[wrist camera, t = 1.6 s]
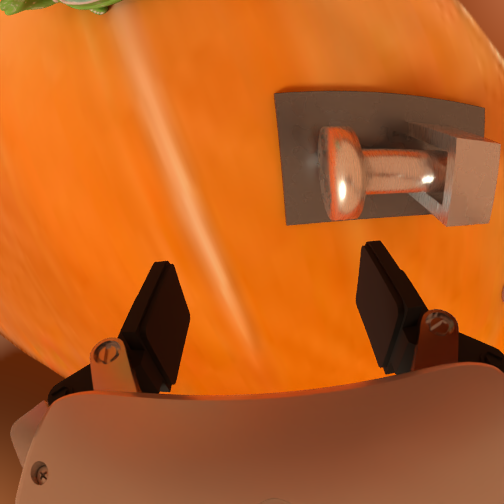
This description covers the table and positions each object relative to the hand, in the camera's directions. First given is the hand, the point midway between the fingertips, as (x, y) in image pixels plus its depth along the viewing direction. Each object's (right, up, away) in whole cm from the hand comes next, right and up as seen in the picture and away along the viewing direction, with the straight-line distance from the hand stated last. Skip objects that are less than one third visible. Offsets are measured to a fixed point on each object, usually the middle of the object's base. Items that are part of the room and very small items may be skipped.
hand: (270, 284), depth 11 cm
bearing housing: (+15, +12, +16) cm, 25 cm away
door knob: (+13, +11, +15) cm, 22 cm away
